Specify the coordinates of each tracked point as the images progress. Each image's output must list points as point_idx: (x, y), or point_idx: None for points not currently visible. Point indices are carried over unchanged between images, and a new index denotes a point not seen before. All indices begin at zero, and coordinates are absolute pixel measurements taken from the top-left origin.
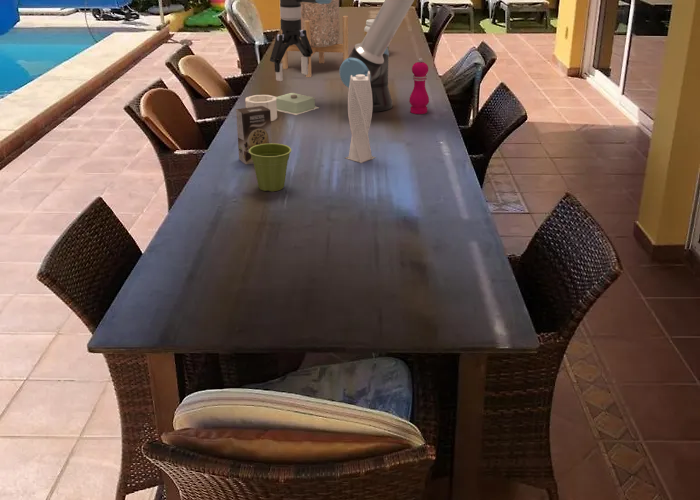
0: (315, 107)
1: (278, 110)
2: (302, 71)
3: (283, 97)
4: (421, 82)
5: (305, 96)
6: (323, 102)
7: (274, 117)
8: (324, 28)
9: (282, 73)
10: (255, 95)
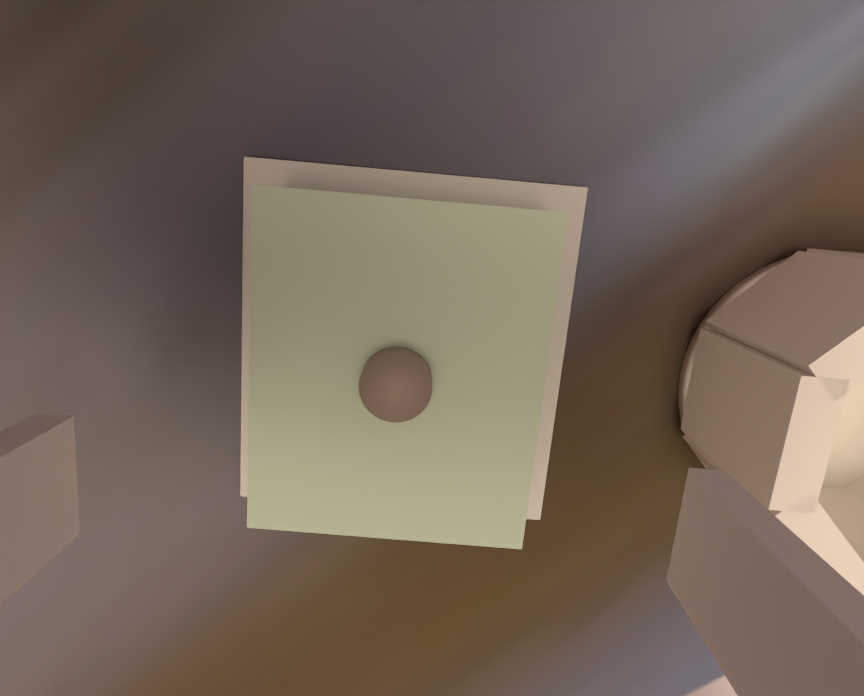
0: None
1: (544, 419)
2: (52, 532)
3: (452, 475)
4: None
5: (279, 307)
6: (51, 269)
7: (844, 251)
8: None
9: (757, 539)
10: None
